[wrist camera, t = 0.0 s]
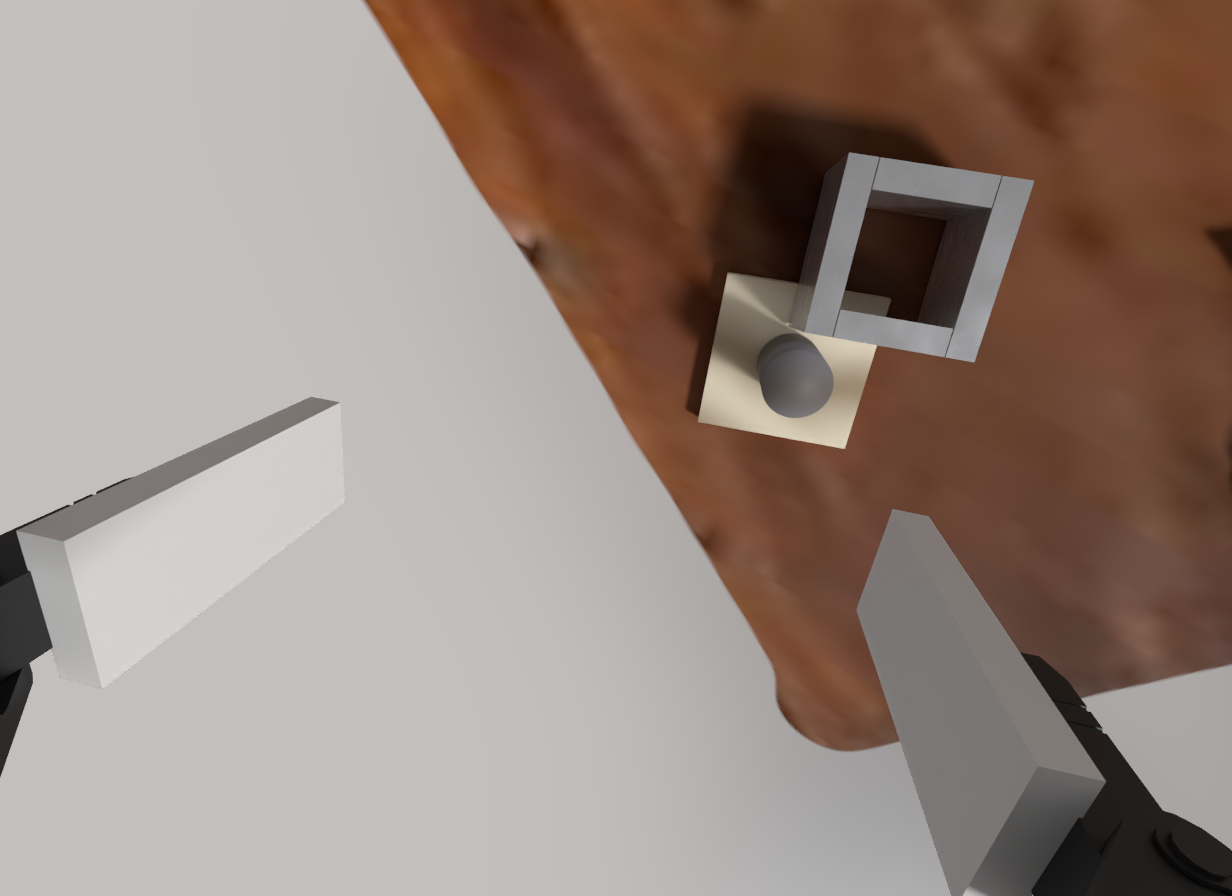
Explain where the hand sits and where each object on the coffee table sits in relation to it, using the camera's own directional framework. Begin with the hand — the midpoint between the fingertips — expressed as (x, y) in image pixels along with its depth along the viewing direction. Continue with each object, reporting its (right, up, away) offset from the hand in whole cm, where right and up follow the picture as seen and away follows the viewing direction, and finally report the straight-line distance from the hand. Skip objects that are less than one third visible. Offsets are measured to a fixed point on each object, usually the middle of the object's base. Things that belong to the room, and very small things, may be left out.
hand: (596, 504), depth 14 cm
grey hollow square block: (+16, +12, +22) cm, 30 cm away
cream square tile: (+12, +7, +26) cm, 29 cm away
